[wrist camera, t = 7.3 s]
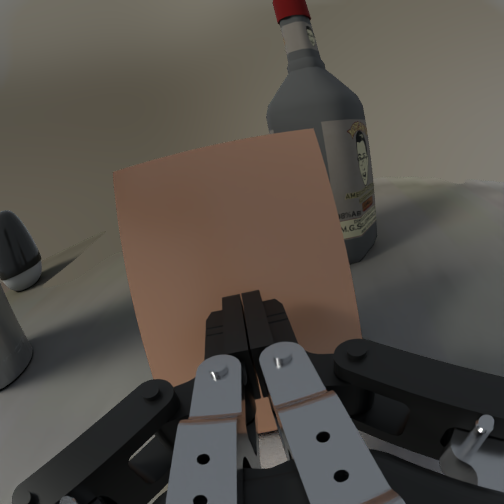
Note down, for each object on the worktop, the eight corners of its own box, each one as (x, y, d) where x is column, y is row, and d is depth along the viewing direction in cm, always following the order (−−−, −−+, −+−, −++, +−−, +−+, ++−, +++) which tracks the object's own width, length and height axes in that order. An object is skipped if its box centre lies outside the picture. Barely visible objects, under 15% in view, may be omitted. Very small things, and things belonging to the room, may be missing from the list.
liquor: (280, 260, 33) (230, 4, 23) (317, 233, 39) (278, 20, 29) (356, 271, 27) (302, -27, 17) (381, 238, 34) (340, 1, 23)
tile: (177, 443, 12) (112, 172, 13) (183, 425, 14) (127, 182, 15) (369, 402, 13) (313, 128, 13) (356, 388, 15) (305, 143, 15)
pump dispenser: (24, 278, 48) (1, 212, 43) (56, 269, 48) (32, 197, 43) (-1, 300, 39) (-29, 226, 33) (31, 293, 39) (1, 210, 34)
